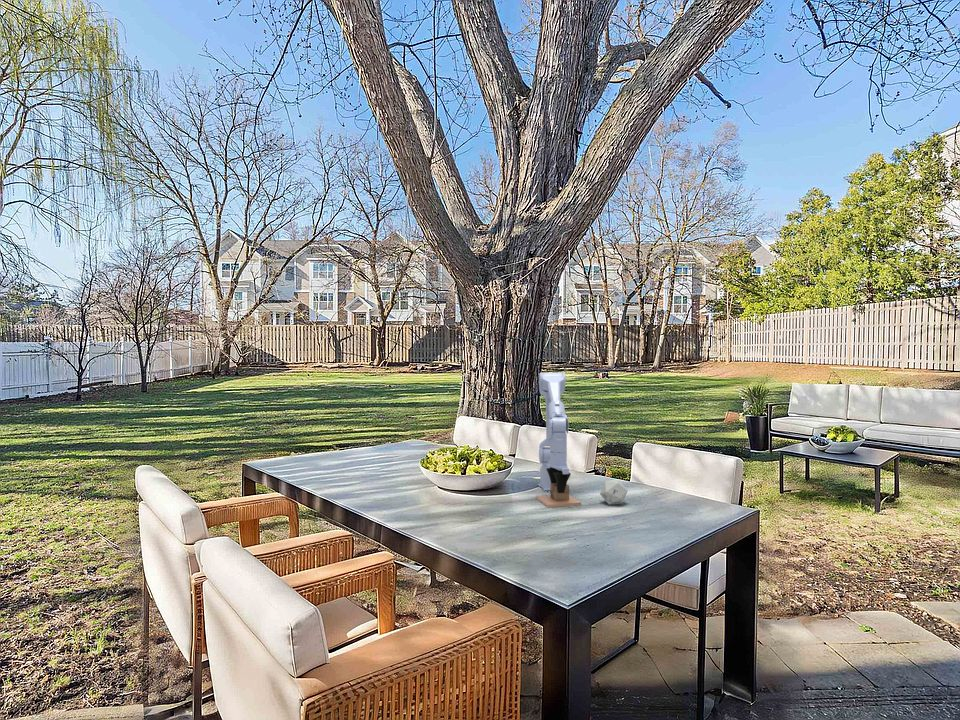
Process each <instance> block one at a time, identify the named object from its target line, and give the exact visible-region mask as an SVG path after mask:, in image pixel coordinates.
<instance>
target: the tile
mask: <svg viewBox="0 0 960 720" xmlns="http://www.w3.org/2000/svg"><path fill="white" fill-rule="evenodd" d="M535 499H536V500H538V502H540V503H541V504H543V505H544V506H545V507H546V508H548V509H549V508H563V507H577V506H582V502H581V501H580V500H578V499H577V498H576V497H574V496H572V495H570V494H569V500H567V501H554V500H553V499H552V498H550V494H543V495H542V494H541V495H535Z"/></svg>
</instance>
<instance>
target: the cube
mask: <svg viewBox="0 0 960 720" xmlns="http://www.w3.org/2000/svg"><path fill="white" fill-rule="evenodd" d="M549 491H550V494H549V495H550V498H552V499H553V500H554V501H567V500H569V495H570V485H569V484H566V488H565V492H564V493H558V490H557V483H550V490H549Z"/></svg>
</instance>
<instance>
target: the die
mask: <svg viewBox="0 0 960 720" xmlns="http://www.w3.org/2000/svg"><path fill="white" fill-rule="evenodd" d="M627 494H628V489H627V488H626V486H624V484H623V483H622V482H621V481H620V480H619V479H613V480H612V479H610V480H604V482H603V485H602V488H601V490H600V492H599V495H600V496H601V497H602V498H603V500H604V502H606V503H607V504H608V505H610V506H611V505H623V503H624V501H625V498H626V495H627Z"/></svg>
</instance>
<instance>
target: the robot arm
mask: <svg viewBox="0 0 960 720" xmlns="http://www.w3.org/2000/svg"><path fill="white" fill-rule="evenodd" d="M566 377H567V376H566V373H565V372H564V371H563V372H542V371H541V372H540V373H539V374H538V391H539V394H540V395H542V396H543V397H544V401H545V426H546V427H545V430H546V433H545V434H546V438H545V439H544V440H542V441H541V442H540V443H539V449H538V461H539V463H540V464H541V466H540V469H539V470H540V471H539V483H537V485H538V487H540V488H542V489H543V490H544V491H550V483H557V490H558V493H564V492H565V488H566V484H567V483H568V480H569V479H570V477H571V474H572V473H571V472H570V468H569V466H568V464H567V463H568V462H567V461H568V460H567V451H568V449H567V448H568V447H567V445H568V444H567V443H568V441H567V440H568V438H567V436H568V433H569V430H570V429H569V427H570V426H569V424H570V423H569V418H568V416H567V414H566V410H565V404H564V402H563V401H561V395H564V392H565V389H566V385H567V378H566ZM567 485H568V484H567Z"/></svg>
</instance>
